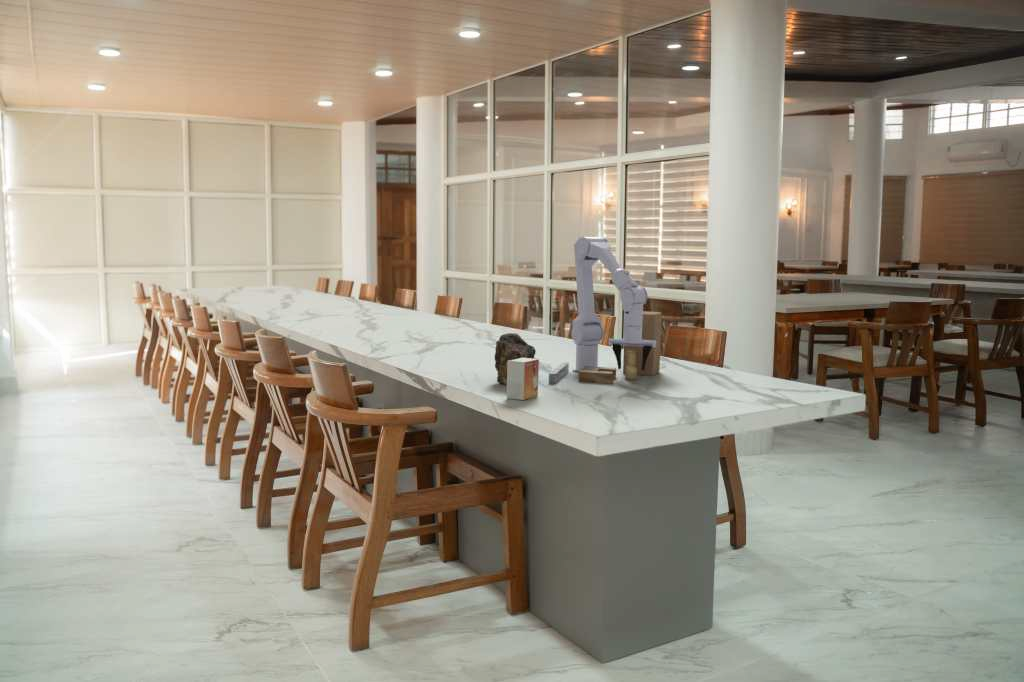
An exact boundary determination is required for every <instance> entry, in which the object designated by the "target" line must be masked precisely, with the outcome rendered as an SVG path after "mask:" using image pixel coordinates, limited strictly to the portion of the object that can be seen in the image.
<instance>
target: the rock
mask: <svg viewBox="0 0 1024 682" xmlns="http://www.w3.org/2000/svg"><path fill="white" fill-rule="evenodd" d="M536 353H537V351H536V349H535V347H534V346H533V345H530V344H528V343H527V342H526V341H525V340H524V339H523V338H522V337H521V336H520V335H519V334H518V333H516V332H515V333H512V332H511V333H505V334H501V335H500V336H499V339H498V340H497V341H496V343H495V354H494V361H495V364H494V368H495V370H496V371H497V378H496V380H497V383H500V384H503V385H505V386H506V387H507V361H508V360H515V359H519V358H532V359H535V355H536Z"/></svg>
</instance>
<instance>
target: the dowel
mask: <svg viewBox="0 0 1024 682" xmlns="http://www.w3.org/2000/svg"><path fill="white" fill-rule="evenodd" d="M637 360H638V351H626V368H625V374H624V380H625V381H630V382H634V381H635V382H637V381H638V375H637Z"/></svg>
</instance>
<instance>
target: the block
mask: <svg viewBox="0 0 1024 682" xmlns="http://www.w3.org/2000/svg"><path fill="white" fill-rule="evenodd" d="M616 378H617V367H610V366H609V367H604V366H597V367H590V366H585V367H584V368H583V369H582V370H581V371H578V382H579V383H581V382H582V383H598V384H613V382H614V380H615V379H616Z"/></svg>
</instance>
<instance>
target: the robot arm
mask: <svg viewBox="0 0 1024 682" xmlns="http://www.w3.org/2000/svg"><path fill="white" fill-rule="evenodd" d="M573 248H574V265H575V266H574V268H575V281H576V282H575V283H576V294H577V310H578V314H577V316H576V318H574V319H573V320H572V329H571V335H570V336H571V338H572V340H573V342H574V344H575V345H576V347H575V367H574V368H573V369H572V372H580V371H581V370H582V369H583V368H584V367H585V366H590V367H599V366H598V363H599V362H598V361H599V359H598V358H599V344H601V341H602V340H603V339H604V335H605V334H604V333H605V331H604V327H603V324H602V319H601V318H600V317H599V316H598V315H597V314H596V308H595V293H594V281H593V280H594V279H593V277H594V276H593V266H594V265H595V264H596V263H597V262H598V261H600V262H601V263H602V264H603V265H604V267H605V269H606V270H607V271H608V272H609V273H610V274H611V278H610V280H611V282H612V284H613V285H614V286H615V287H616V289H617V291H618V292H619V293H620V296H619V297H620V301H621V304H622V310H623V312H624V313H623V331H622V332H623V333H622V335H623V336H622V338H609V339H608V346H611V347H612V351H613V353H614V356H615V358H616V362H617V369H618V370H621V369H622V348H623V347H624V346H641V347H643V361H642V370H644V369H645V364H646V360H647V357H648V355H649V353H650V351H651V349H652V347H656V341H653V340H642V319H643V311H644V305H645V304H646V303H647V300H648V291H647V289H646V288H645V287H644V286H642V285H640V284H637V281H635V279H634V278H633V277H632V275H631V274H630V271H629V270H628V269H626V268H621V266H620V264H619V262H618V261H617V259H616V257H615V256H614V254H613V252H612V250H611V243H609V241H608V239H607V238H606V237H604V236H596V237H595V236H579V237H578V238H577V240H576V241H575V243H574V244H573ZM626 343H630V344H626ZM637 344H640V345H637Z"/></svg>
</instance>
